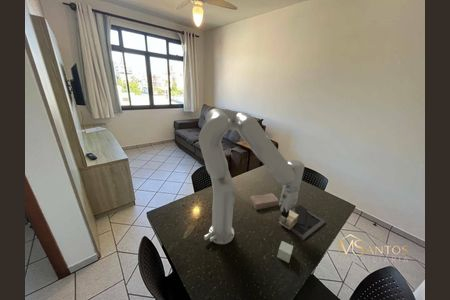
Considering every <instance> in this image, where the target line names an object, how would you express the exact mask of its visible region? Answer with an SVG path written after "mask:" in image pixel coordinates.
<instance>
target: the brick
mask: <svg viewBox="0 0 450 300" xmlns="http://www.w3.org/2000/svg"><path fill="white" fill-rule="evenodd" d="M249 197H250V198H249V202H250V204H251V206H252V207H253V208H254V209H255V210H262V209H266V208H272V207H276V206H279V202H280V199H278V197H276V195H275V194H274V193H270V192H269V193H265V194H259V195H257V194H256V195H250V196H249Z"/></svg>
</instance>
